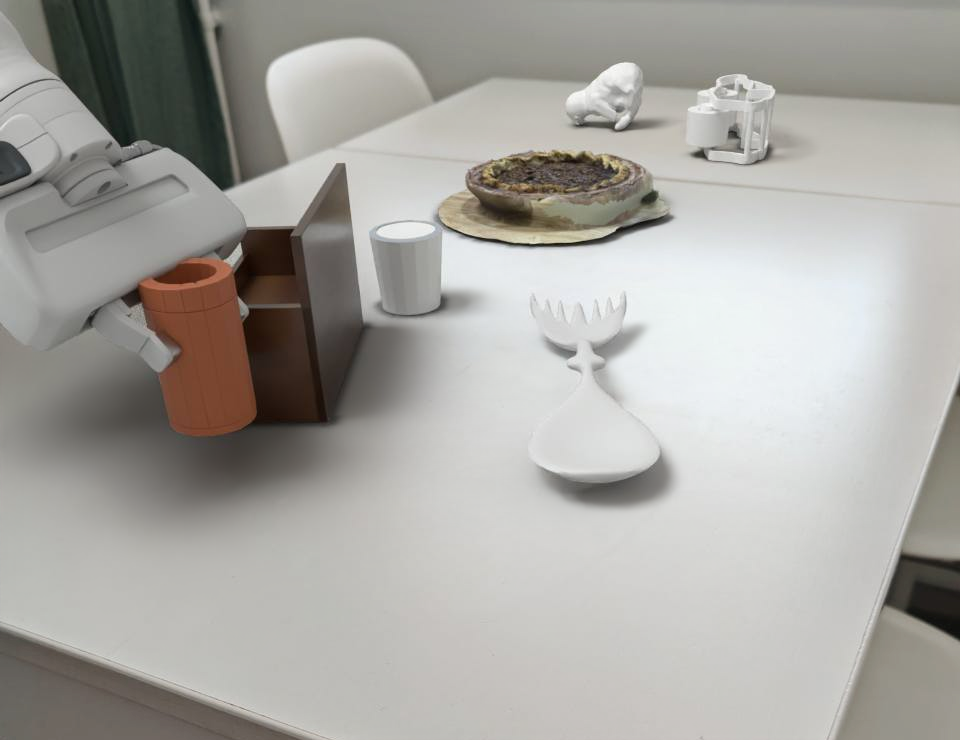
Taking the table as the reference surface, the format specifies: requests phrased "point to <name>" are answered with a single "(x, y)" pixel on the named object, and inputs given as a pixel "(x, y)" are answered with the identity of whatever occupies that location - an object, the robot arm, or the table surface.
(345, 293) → the box
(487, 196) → the pie
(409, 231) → the white cup
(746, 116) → the white strut cage
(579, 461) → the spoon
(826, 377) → the table surface
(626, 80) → the white animal figurine
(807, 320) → the table surface
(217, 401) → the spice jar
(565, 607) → the table surface
